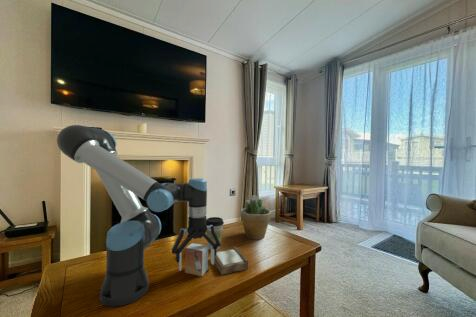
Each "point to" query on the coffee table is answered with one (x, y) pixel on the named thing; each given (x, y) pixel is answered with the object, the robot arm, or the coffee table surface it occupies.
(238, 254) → the tray
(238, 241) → the coffee table surface
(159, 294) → the coffee table surface
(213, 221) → the coffee cup
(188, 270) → the small box
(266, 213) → the potted plant
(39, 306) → the coffee table surface
